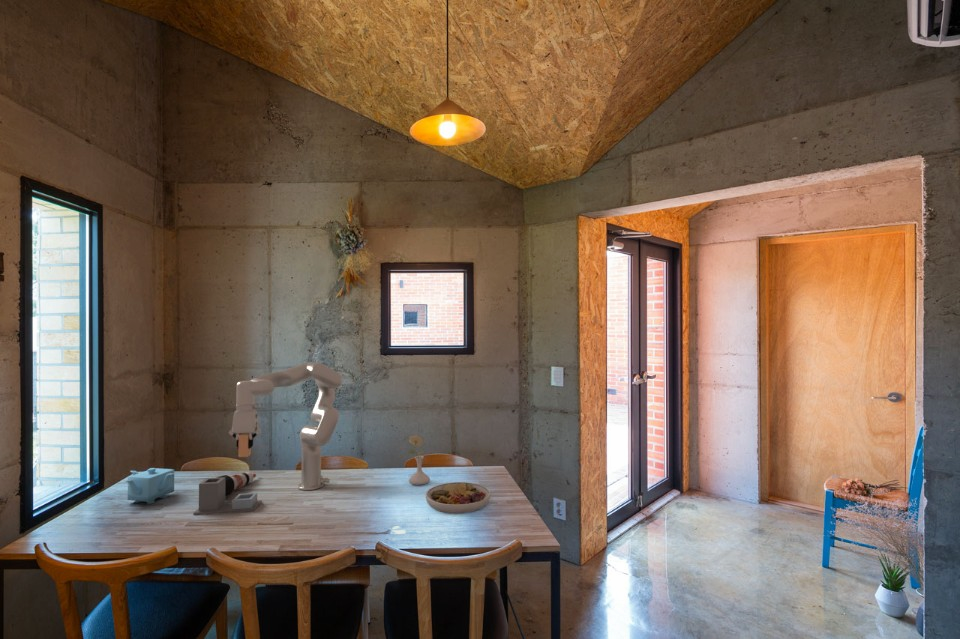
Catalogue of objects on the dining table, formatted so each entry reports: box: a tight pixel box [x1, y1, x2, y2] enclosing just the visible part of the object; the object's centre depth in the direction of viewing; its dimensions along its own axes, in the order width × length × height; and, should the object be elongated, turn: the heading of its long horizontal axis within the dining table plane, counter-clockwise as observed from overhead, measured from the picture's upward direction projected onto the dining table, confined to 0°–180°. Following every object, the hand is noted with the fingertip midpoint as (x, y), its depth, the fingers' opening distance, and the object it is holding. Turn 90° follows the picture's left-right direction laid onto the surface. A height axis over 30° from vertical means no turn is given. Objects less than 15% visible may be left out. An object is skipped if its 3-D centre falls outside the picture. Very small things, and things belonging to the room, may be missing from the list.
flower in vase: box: [408, 434, 431, 486], centre depth 242 cm, size 13×11×25 cm
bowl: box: [425, 481, 491, 515], centre depth 213 cm, size 30×30×8 cm
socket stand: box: [192, 477, 263, 516], centre depth 208 cm, size 25×11×13 cm, turn 99°
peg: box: [237, 433, 252, 458], centre depth 210 cm, size 4×4×10 cm
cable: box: [215, 471, 257, 498], centre depth 232 cm, size 10×34×10 cm, turn 173°
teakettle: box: [124, 467, 175, 505], centre depth 220 cm, size 19×19×15 cm
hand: (244, 447), depth 210 cm, fingers closed on peg, 4 cm apart
